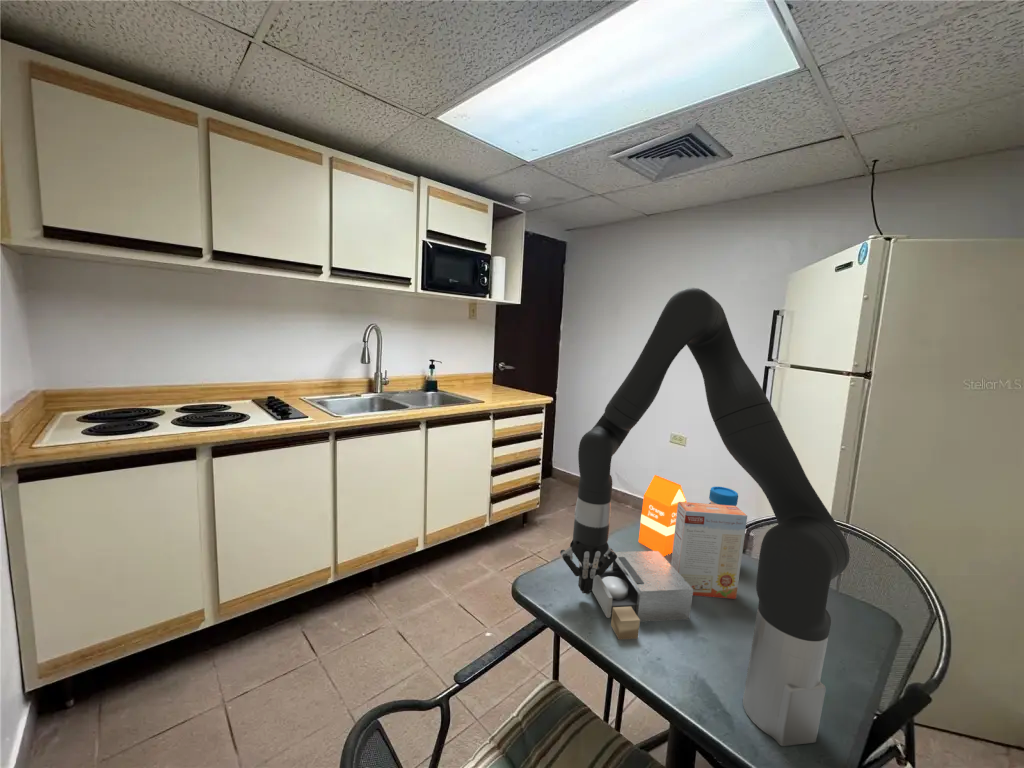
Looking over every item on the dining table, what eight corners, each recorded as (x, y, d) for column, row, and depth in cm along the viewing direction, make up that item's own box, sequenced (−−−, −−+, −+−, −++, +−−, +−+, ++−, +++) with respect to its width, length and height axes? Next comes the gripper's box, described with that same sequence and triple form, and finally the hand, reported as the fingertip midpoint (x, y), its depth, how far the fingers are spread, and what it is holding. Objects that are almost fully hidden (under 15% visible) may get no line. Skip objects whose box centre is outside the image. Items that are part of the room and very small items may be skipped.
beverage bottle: (729, 556, 115) (739, 488, 113) (734, 572, 107) (745, 499, 105) (696, 549, 118) (705, 482, 115) (698, 564, 110) (708, 493, 107)
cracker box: (724, 584, 102) (736, 504, 99) (736, 600, 96) (749, 515, 93) (667, 579, 102) (677, 499, 100) (675, 595, 96) (686, 510, 94)
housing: (689, 619, 88) (693, 588, 87) (637, 621, 86) (640, 590, 85) (654, 577, 103) (658, 550, 102) (609, 578, 101) (612, 551, 100)
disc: (607, 600, 90) (607, 593, 89) (596, 583, 95) (597, 577, 95) (632, 598, 91) (633, 591, 91) (620, 581, 97) (621, 575, 96)
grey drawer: (658, 614, 87) (661, 595, 87) (606, 617, 85) (608, 597, 85) (628, 573, 101) (630, 556, 101) (583, 575, 100) (585, 558, 99)
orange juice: (663, 556, 113) (672, 487, 110) (637, 541, 120) (645, 476, 117) (680, 549, 117) (689, 482, 114) (655, 535, 124) (662, 472, 122)
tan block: (637, 638, 82) (639, 620, 81) (618, 639, 81) (620, 621, 80) (629, 624, 86) (631, 606, 85) (610, 625, 85) (612, 607, 84)
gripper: (568, 526, 85) (561, 603, 87) (628, 525, 87) (619, 601, 89) (558, 510, 92) (551, 582, 94) (613, 509, 94) (606, 579, 96)
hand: (585, 591), depth 92 cm, fingers closed
